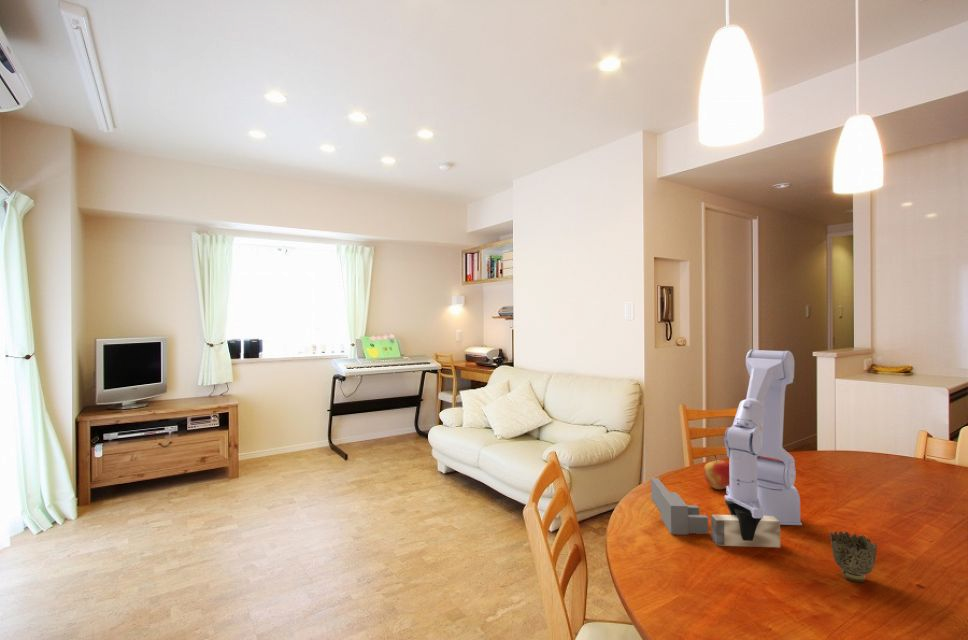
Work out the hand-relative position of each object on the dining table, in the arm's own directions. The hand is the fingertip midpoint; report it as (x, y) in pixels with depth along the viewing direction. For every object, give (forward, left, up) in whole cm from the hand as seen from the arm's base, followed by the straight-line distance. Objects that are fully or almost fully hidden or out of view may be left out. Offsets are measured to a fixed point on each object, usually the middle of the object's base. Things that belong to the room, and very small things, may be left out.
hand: (743, 536), depth 110 cm
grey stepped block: (+11, -15, -2) cm, 19 cm away
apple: (-8, -36, -2) cm, 37 cm away
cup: (-15, +14, -2) cm, 21 cm away
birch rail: (0, 0, -2) cm, 2 cm away
